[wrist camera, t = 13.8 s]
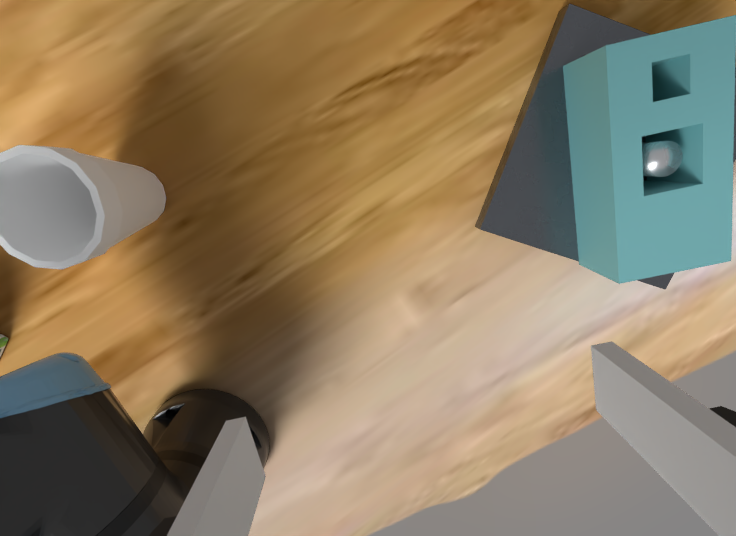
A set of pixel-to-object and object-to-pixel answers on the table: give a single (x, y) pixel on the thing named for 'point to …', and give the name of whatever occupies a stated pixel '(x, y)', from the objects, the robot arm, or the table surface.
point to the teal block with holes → (657, 123)
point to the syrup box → (2, 343)
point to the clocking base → (559, 146)
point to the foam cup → (71, 204)
